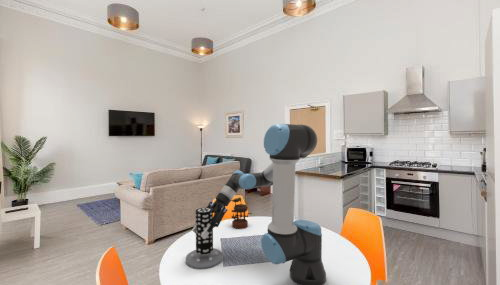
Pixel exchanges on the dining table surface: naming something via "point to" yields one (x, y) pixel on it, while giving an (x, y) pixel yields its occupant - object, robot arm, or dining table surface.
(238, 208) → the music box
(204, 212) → the white-spotted black cylinder
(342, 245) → the dining table surface
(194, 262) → the stub plate
